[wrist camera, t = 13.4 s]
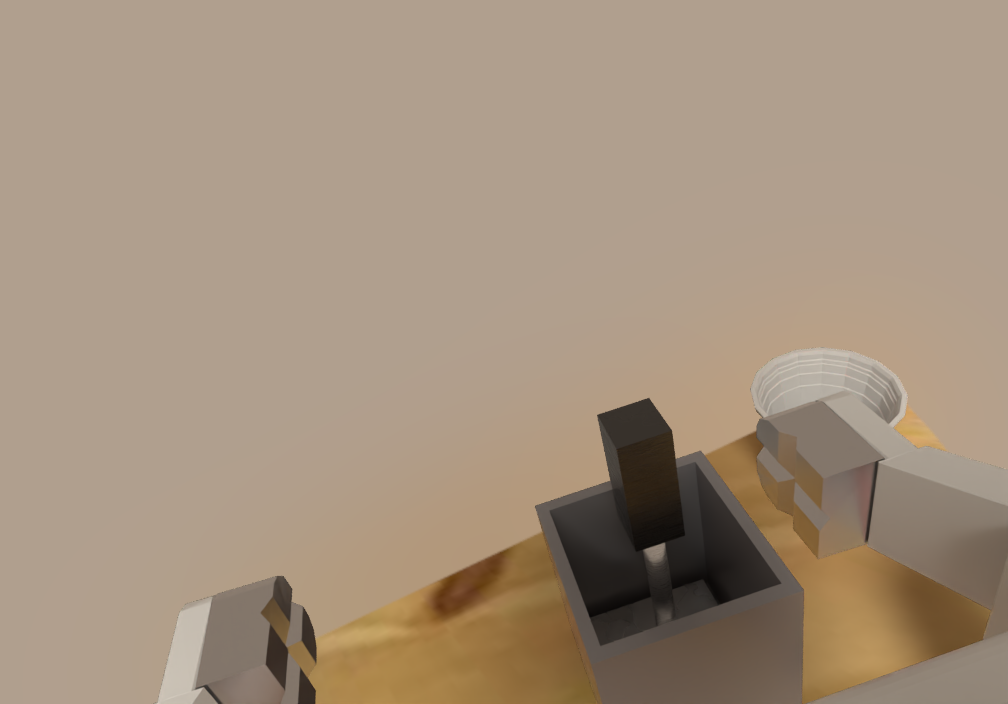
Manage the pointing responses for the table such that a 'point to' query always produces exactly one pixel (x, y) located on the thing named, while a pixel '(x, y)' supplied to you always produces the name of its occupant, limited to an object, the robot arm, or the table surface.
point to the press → (698, 555)
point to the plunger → (646, 517)
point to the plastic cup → (827, 382)
